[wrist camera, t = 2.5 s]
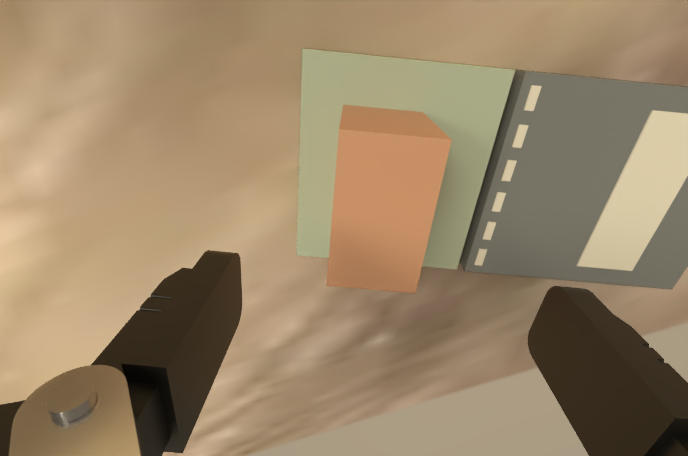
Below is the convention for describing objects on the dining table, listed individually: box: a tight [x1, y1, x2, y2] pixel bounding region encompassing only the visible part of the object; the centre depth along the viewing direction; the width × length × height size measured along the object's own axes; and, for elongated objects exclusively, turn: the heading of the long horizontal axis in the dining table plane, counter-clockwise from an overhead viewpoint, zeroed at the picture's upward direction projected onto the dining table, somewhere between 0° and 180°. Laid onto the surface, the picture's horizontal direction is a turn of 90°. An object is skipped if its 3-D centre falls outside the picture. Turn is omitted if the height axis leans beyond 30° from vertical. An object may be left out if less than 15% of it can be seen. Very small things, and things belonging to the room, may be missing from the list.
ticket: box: [460, 70, 688, 289], centre depth 17 cm, size 10×12×1 cm
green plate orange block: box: [296, 48, 515, 293], centre depth 15 cm, size 10×9×6 cm
